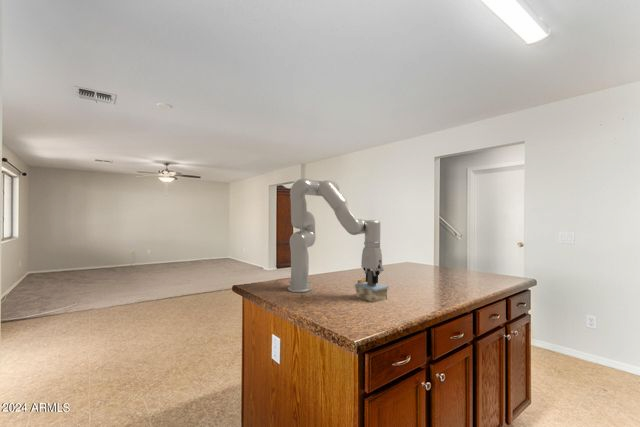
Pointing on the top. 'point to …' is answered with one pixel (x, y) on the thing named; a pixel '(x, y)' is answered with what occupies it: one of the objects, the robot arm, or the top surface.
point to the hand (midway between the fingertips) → (371, 282)
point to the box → (371, 294)
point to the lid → (371, 283)
